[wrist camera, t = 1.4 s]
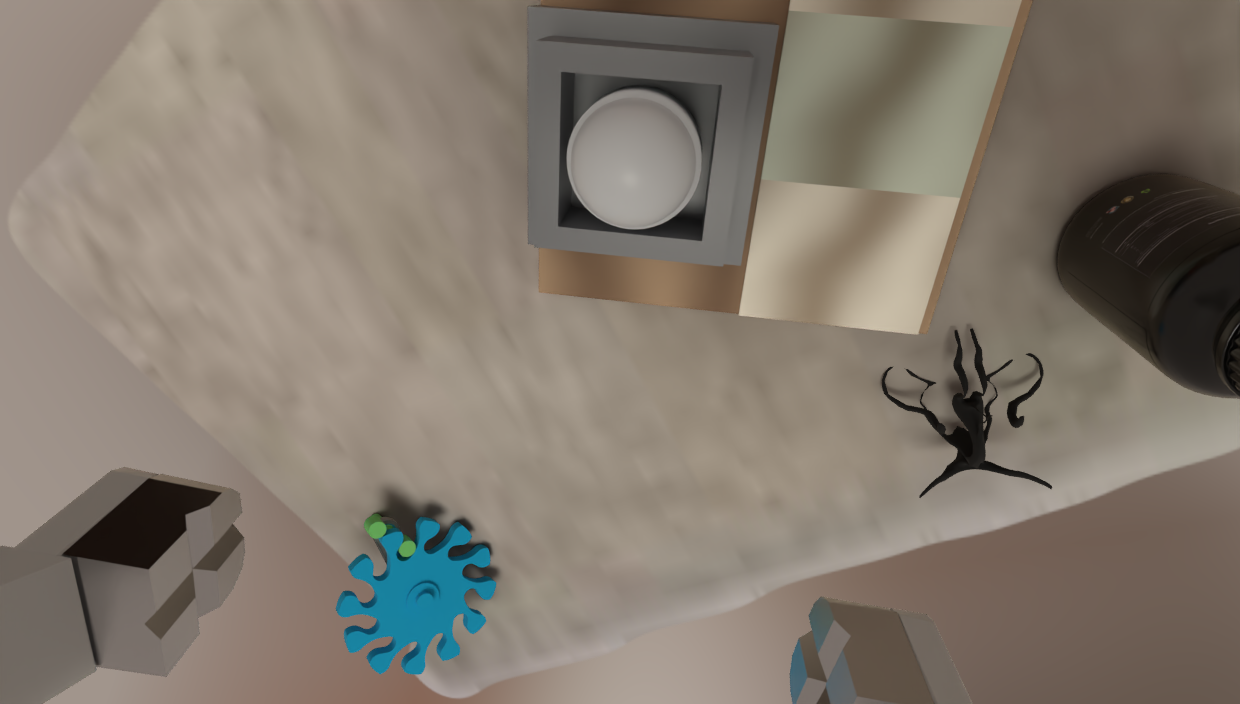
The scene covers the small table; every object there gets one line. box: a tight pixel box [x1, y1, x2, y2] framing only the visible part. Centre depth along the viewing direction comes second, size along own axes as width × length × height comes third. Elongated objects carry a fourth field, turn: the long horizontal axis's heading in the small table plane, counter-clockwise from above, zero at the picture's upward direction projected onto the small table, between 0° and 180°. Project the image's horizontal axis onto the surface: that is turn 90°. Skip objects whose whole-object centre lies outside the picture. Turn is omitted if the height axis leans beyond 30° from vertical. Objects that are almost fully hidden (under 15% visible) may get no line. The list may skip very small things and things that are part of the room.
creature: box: [882, 328, 1052, 498], centre depth 34 cm, size 8×5×8 cm
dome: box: [567, 85, 702, 229], centre depth 26 cm, size 5×5×5 cm
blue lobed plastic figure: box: [336, 514, 496, 674], centre depth 45 cm, size 11×6×10 cm
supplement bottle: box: [1057, 174, 1240, 399], centre depth 26 cm, size 7×7×12 cm
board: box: [539, 0, 1033, 335], centre depth 30 cm, size 20×21×1 cm
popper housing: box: [528, 5, 779, 267], centre depth 29 cm, size 10×10×6 cm
